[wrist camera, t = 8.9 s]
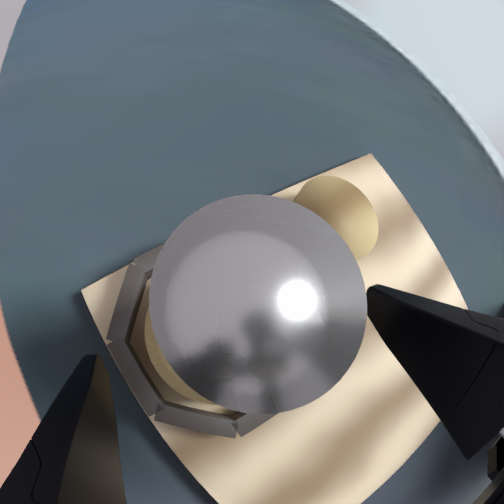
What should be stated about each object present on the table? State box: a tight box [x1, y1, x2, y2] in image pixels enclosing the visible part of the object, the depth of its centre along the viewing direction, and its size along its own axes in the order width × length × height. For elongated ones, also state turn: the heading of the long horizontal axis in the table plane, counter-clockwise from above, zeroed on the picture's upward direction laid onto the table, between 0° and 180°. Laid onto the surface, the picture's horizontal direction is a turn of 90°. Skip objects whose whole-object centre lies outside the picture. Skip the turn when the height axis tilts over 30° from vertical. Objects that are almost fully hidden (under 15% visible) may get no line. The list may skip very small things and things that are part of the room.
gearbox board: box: [81, 154, 468, 504], centre depth 17 cm, size 23×26×4 cm
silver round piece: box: [144, 194, 367, 414], centre depth 11 cm, size 8×8×11 cm
